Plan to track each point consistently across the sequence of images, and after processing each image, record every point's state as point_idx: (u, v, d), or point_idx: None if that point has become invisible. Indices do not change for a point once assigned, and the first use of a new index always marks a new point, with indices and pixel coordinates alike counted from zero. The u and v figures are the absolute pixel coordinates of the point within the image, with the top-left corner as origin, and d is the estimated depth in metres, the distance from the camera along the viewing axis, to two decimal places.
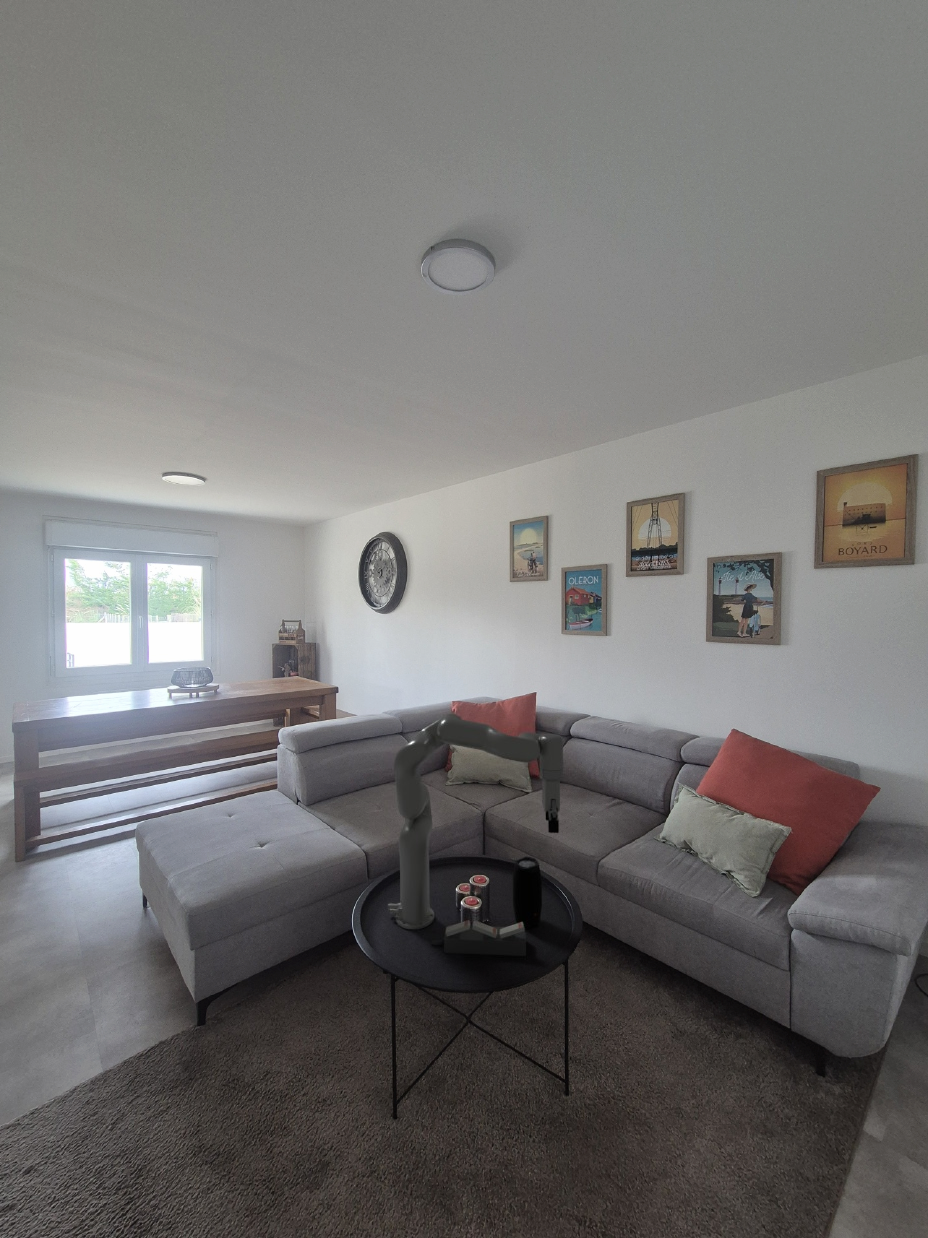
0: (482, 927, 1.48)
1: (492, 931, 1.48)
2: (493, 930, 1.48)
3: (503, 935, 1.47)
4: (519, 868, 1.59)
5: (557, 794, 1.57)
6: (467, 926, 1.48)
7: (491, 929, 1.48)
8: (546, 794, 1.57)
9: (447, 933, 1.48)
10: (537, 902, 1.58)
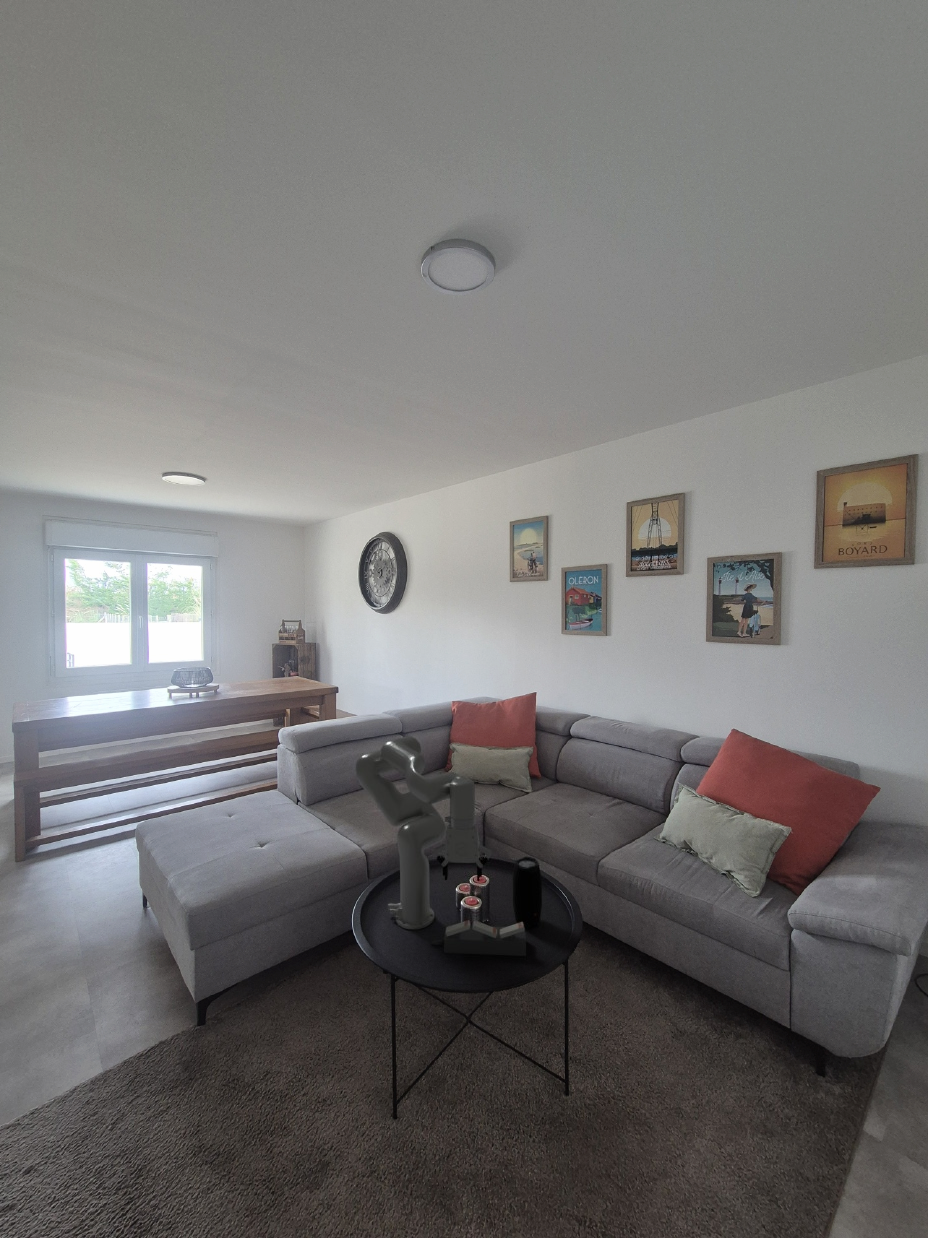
0: (482, 927, 1.48)
1: (492, 931, 1.48)
2: (493, 930, 1.48)
3: (503, 935, 1.47)
4: (519, 868, 1.59)
5: None
6: (467, 926, 1.48)
7: (491, 929, 1.48)
8: (478, 842, 1.48)
9: (447, 933, 1.48)
10: (537, 902, 1.58)
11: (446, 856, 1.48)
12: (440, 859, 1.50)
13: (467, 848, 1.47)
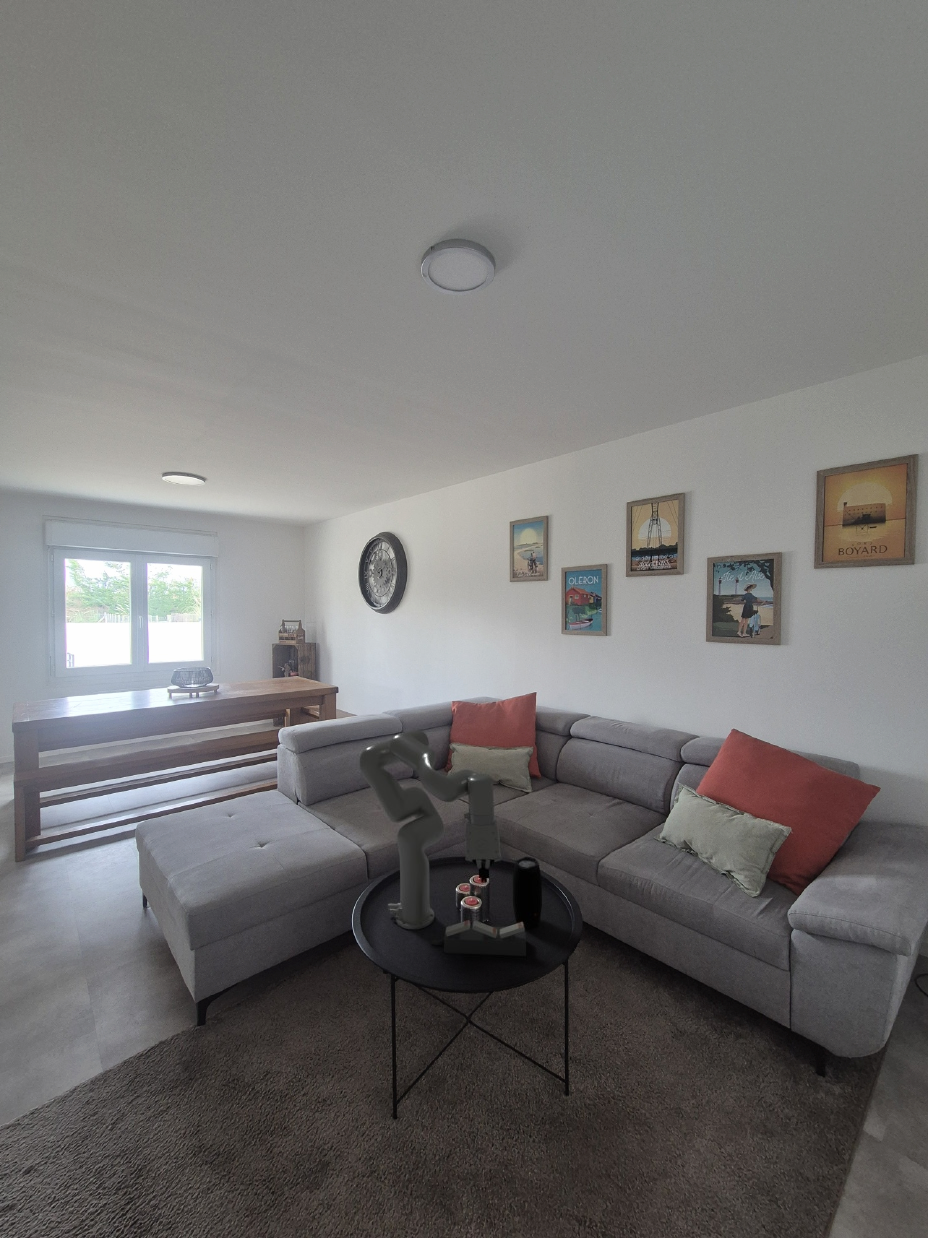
0: (482, 927, 1.48)
1: (492, 931, 1.48)
2: (493, 930, 1.48)
3: (503, 935, 1.47)
4: (519, 868, 1.59)
5: None
6: (467, 926, 1.48)
7: (491, 929, 1.48)
8: (498, 838, 1.46)
9: (447, 933, 1.48)
10: (537, 902, 1.58)
11: (466, 853, 1.46)
12: (475, 861, 1.48)
13: (487, 844, 1.45)
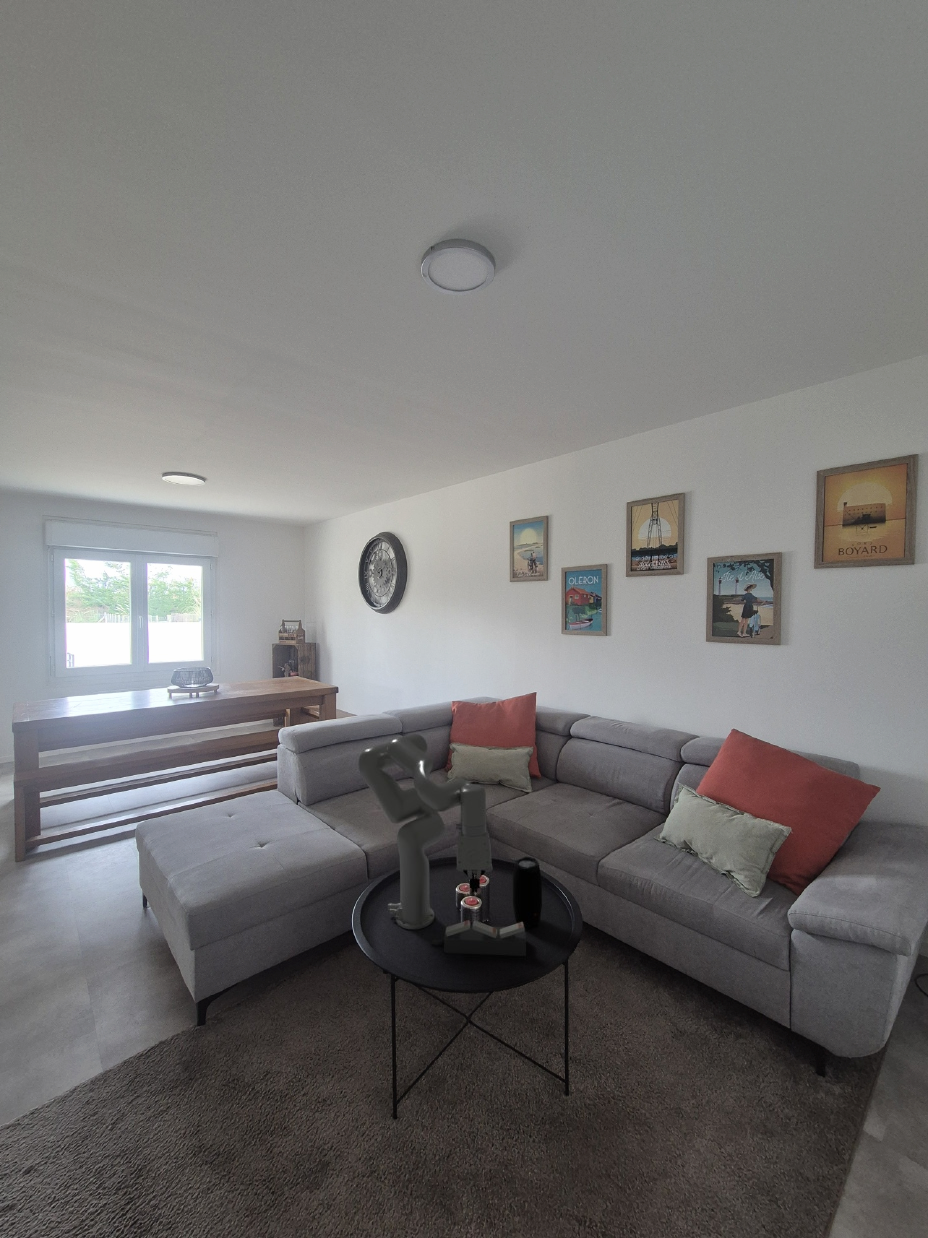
0: (482, 927, 1.48)
1: (492, 931, 1.48)
2: (493, 930, 1.48)
3: (503, 935, 1.47)
4: (519, 868, 1.59)
5: None
6: (467, 926, 1.48)
7: (491, 929, 1.48)
8: (489, 849, 1.46)
9: (447, 933, 1.48)
10: (537, 902, 1.58)
11: (458, 864, 1.46)
12: (467, 871, 1.48)
13: (479, 855, 1.46)
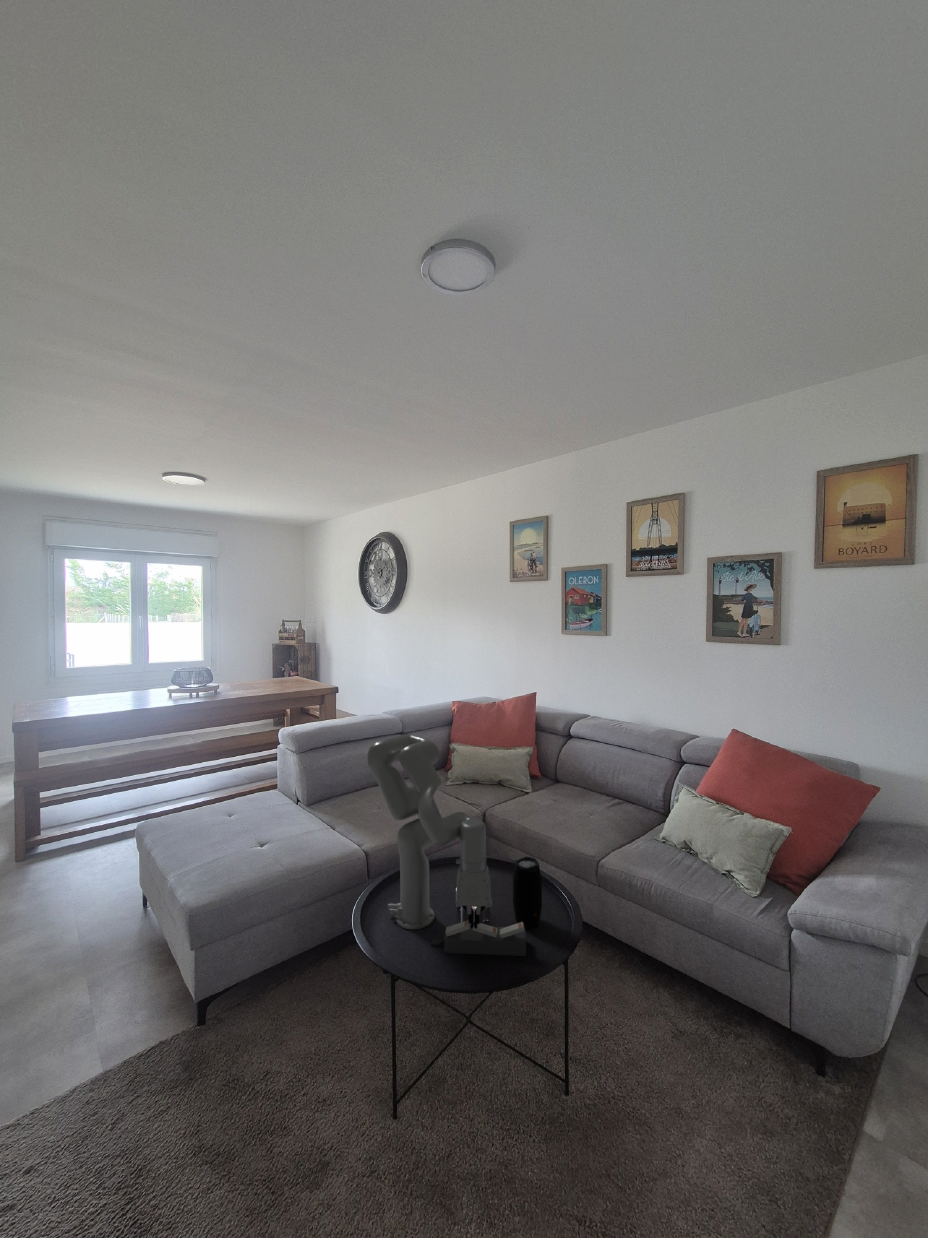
0: (482, 927, 1.48)
1: (492, 930, 1.48)
2: (493, 930, 1.48)
3: (503, 935, 1.47)
4: (519, 868, 1.59)
5: None
6: (467, 926, 1.48)
7: (491, 929, 1.48)
8: (489, 885, 1.46)
9: (447, 933, 1.48)
10: (537, 902, 1.58)
11: (457, 899, 1.46)
12: (466, 907, 1.48)
13: (479, 891, 1.46)
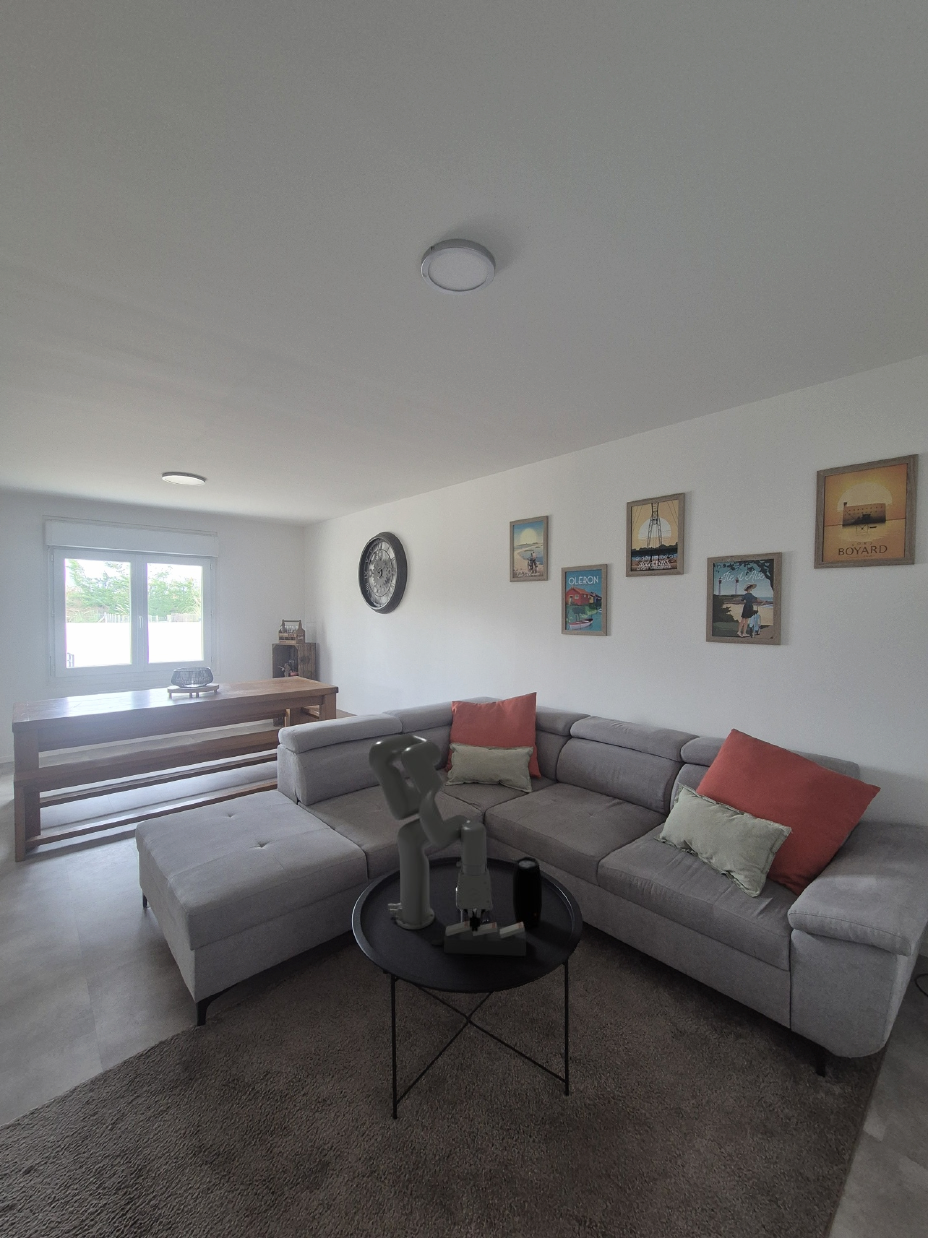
0: (481, 929, 1.48)
1: (491, 927, 1.48)
2: (492, 926, 1.48)
3: (503, 935, 1.47)
4: (519, 868, 1.59)
5: None
6: (467, 927, 1.48)
7: (490, 925, 1.48)
8: (490, 888, 1.46)
9: (447, 932, 1.48)
10: (537, 902, 1.58)
11: (458, 902, 1.46)
12: (467, 910, 1.48)
13: (479, 894, 1.46)
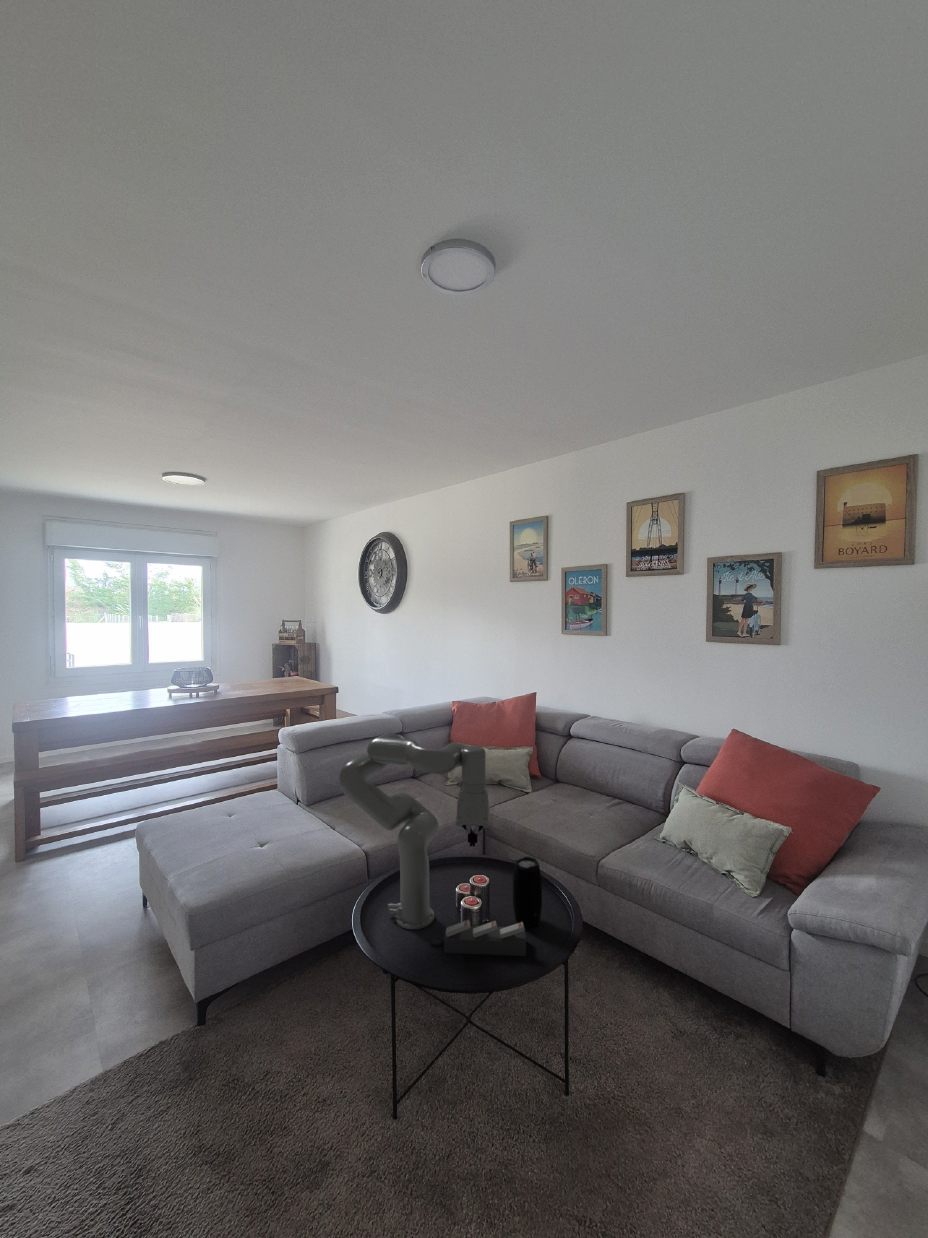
0: (481, 929, 1.48)
1: (490, 926, 1.48)
2: (491, 924, 1.48)
3: (503, 935, 1.47)
4: (519, 868, 1.59)
5: None
6: (467, 926, 1.48)
7: (489, 925, 1.48)
8: (487, 806, 1.56)
9: (447, 933, 1.48)
10: (537, 902, 1.58)
11: (457, 819, 1.56)
12: (465, 826, 1.57)
13: (477, 811, 1.55)
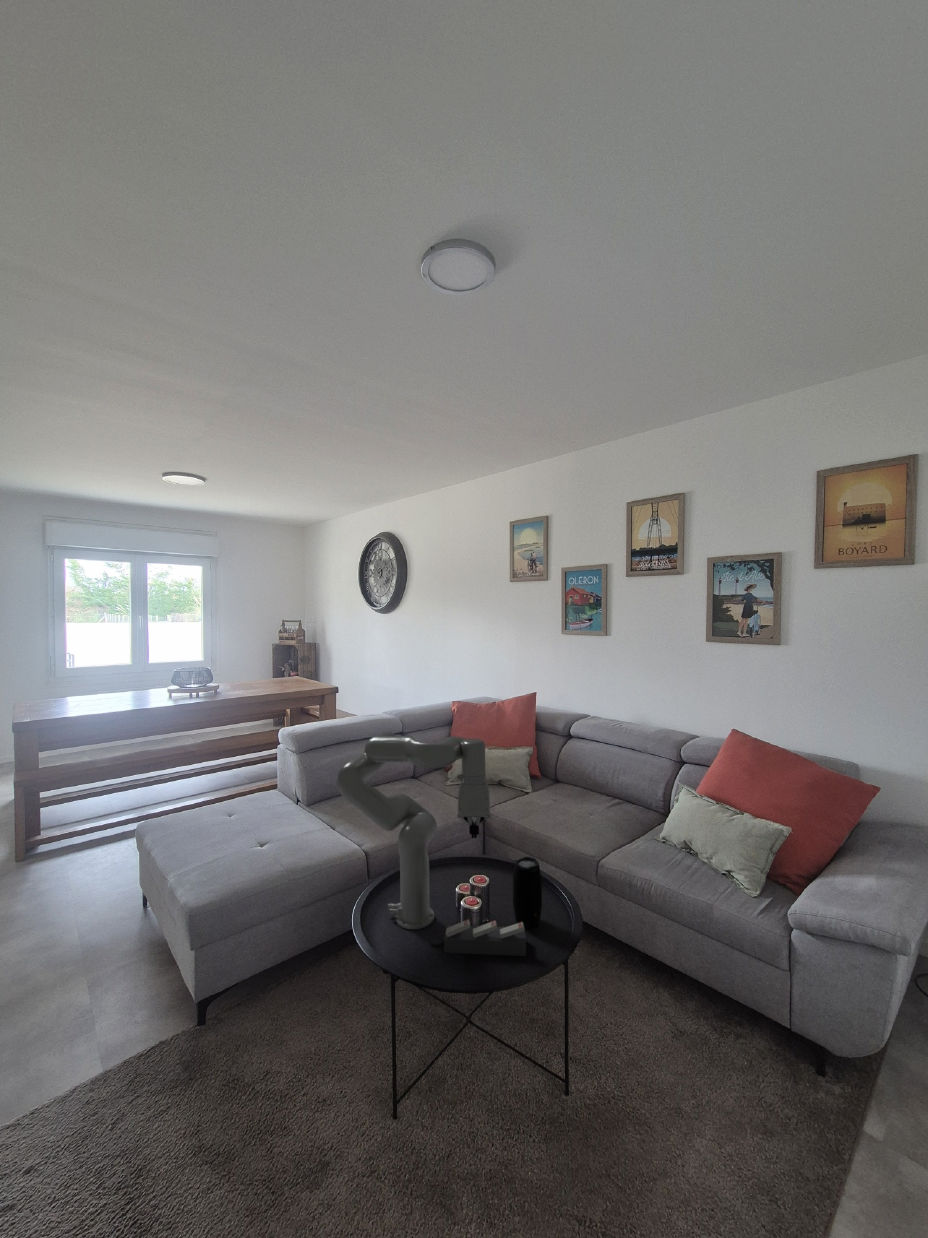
0: (480, 929, 1.48)
1: (490, 926, 1.48)
2: (491, 924, 1.48)
3: (503, 935, 1.47)
4: (519, 868, 1.59)
5: None
6: (467, 925, 1.48)
7: (489, 924, 1.48)
8: (488, 797, 1.57)
9: (447, 934, 1.48)
10: (537, 902, 1.58)
11: (459, 811, 1.57)
12: (467, 818, 1.59)
13: (478, 803, 1.57)
